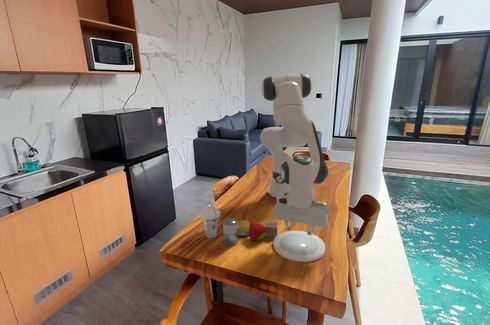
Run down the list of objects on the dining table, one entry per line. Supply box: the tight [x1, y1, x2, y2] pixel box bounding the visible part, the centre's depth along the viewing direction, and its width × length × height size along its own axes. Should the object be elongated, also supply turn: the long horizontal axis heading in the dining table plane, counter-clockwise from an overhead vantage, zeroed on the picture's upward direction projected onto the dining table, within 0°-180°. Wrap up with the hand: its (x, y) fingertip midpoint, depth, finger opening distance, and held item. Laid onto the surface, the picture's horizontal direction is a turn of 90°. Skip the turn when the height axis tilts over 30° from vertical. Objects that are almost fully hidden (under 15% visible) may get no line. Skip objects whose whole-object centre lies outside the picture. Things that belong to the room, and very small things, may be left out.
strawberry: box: [248, 221, 267, 242], centre depth 108 cm, size 6×8×10 cm
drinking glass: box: [222, 217, 239, 247], centre depth 105 cm, size 6×6×9 cm
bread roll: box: [237, 220, 250, 237], centre depth 114 cm, size 8×9×4 cm
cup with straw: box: [199, 190, 223, 239], centre depth 109 cm, size 8×9×20 cm
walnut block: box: [264, 220, 278, 239], centre depth 111 cm, size 5×5×5 cm
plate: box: [272, 230, 326, 263], centre depth 103 cm, size 20×20×1 cm
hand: (299, 232), depth 101 cm, fingers open, 7 cm apart
